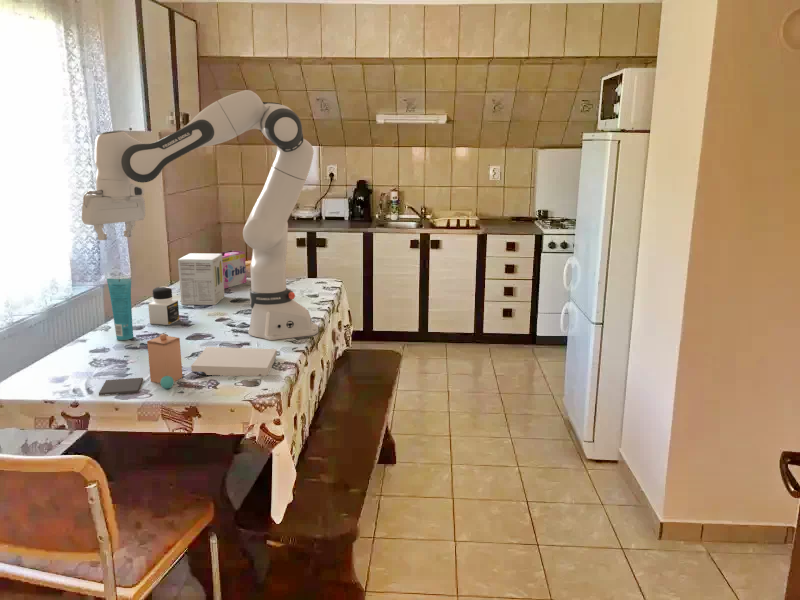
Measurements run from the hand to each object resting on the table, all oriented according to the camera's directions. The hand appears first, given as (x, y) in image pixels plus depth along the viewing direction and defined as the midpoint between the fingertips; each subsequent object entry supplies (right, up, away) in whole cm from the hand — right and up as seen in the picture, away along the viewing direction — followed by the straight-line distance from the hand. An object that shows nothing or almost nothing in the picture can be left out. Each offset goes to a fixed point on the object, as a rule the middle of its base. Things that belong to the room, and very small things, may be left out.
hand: (115, 238), depth 189 cm
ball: (+23, -40, -22) cm, 51 cm away
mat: (+11, -40, -22) cm, 47 cm away
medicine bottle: (+1, -25, +36) cm, 44 cm away
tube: (-5, -30, +18) cm, 35 cm away
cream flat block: (+36, -37, -6) cm, 52 cm away
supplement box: (+6, -18, +65) cm, 68 cm away
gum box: (+7, -12, +89) cm, 90 cm away
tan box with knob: (+20, -39, -16) cm, 47 cm away
